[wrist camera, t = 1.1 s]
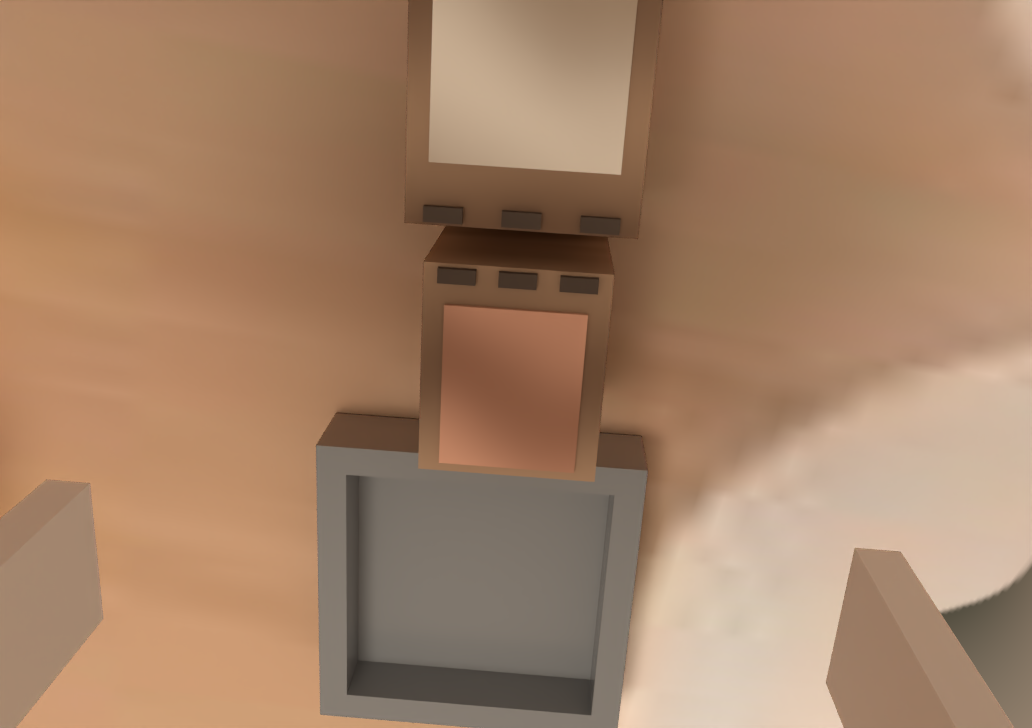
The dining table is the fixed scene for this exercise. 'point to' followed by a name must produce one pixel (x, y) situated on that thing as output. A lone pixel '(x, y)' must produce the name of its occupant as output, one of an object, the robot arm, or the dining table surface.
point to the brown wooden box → (530, 113)
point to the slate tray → (472, 584)
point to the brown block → (514, 352)
